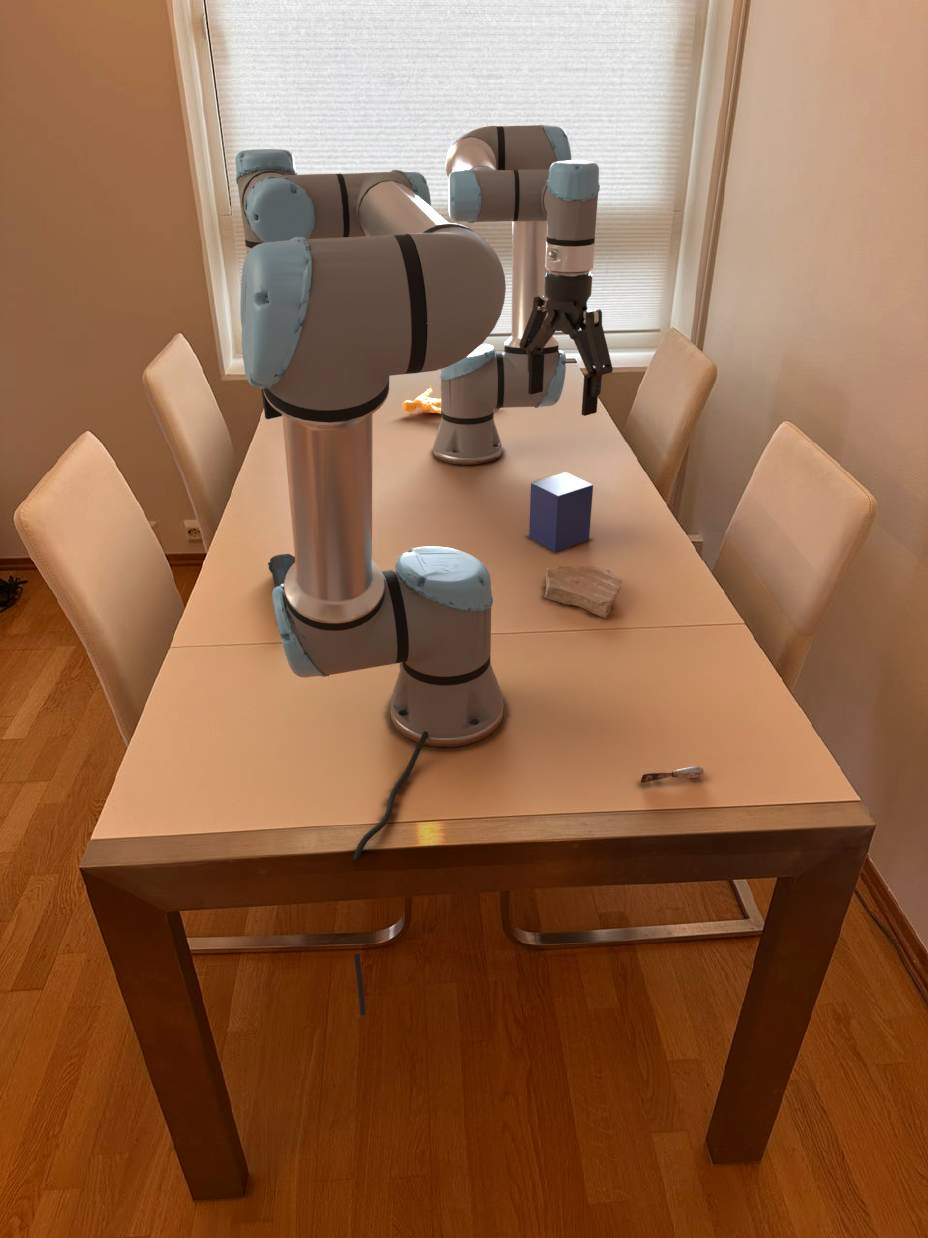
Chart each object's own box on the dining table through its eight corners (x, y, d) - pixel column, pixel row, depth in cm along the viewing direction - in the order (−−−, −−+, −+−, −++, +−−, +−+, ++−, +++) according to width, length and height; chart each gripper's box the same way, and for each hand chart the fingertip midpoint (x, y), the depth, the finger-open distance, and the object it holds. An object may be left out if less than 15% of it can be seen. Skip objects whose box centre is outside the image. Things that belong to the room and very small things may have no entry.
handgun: (352, 612, 143) (277, 623, 140) (336, 561, 157) (267, 570, 155) (351, 595, 141) (274, 606, 139) (334, 545, 156) (265, 554, 153)
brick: (562, 525, 170) (565, 471, 164) (589, 539, 164) (593, 484, 159) (528, 537, 165) (530, 482, 160) (554, 552, 160) (557, 496, 154)
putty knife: (703, 777, 109) (705, 767, 109) (642, 788, 108) (644, 777, 107) (700, 772, 110) (702, 762, 109) (639, 782, 109) (640, 771, 108)
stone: (626, 584, 150) (627, 571, 148) (608, 619, 140) (609, 605, 139) (553, 571, 154) (553, 558, 153) (530, 604, 145) (530, 590, 143)
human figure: (395, 413, 223) (394, 398, 221) (438, 390, 237) (438, 375, 235) (462, 429, 215) (462, 413, 213) (502, 404, 229) (503, 388, 227)
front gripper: (215, 267, 127) (236, 411, 138) (294, 298, 110) (311, 460, 121) (263, 261, 131) (280, 402, 142) (348, 290, 114) (359, 448, 125)
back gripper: (500, 261, 147) (498, 388, 158) (607, 288, 130) (596, 428, 141) (535, 256, 151) (531, 380, 162) (643, 281, 134) (630, 418, 145)
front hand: (294, 429), depth 132 cm, fingers open, 13 cm apart
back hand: (561, 402), depth 152 cm, fingers open, 13 cm apart
